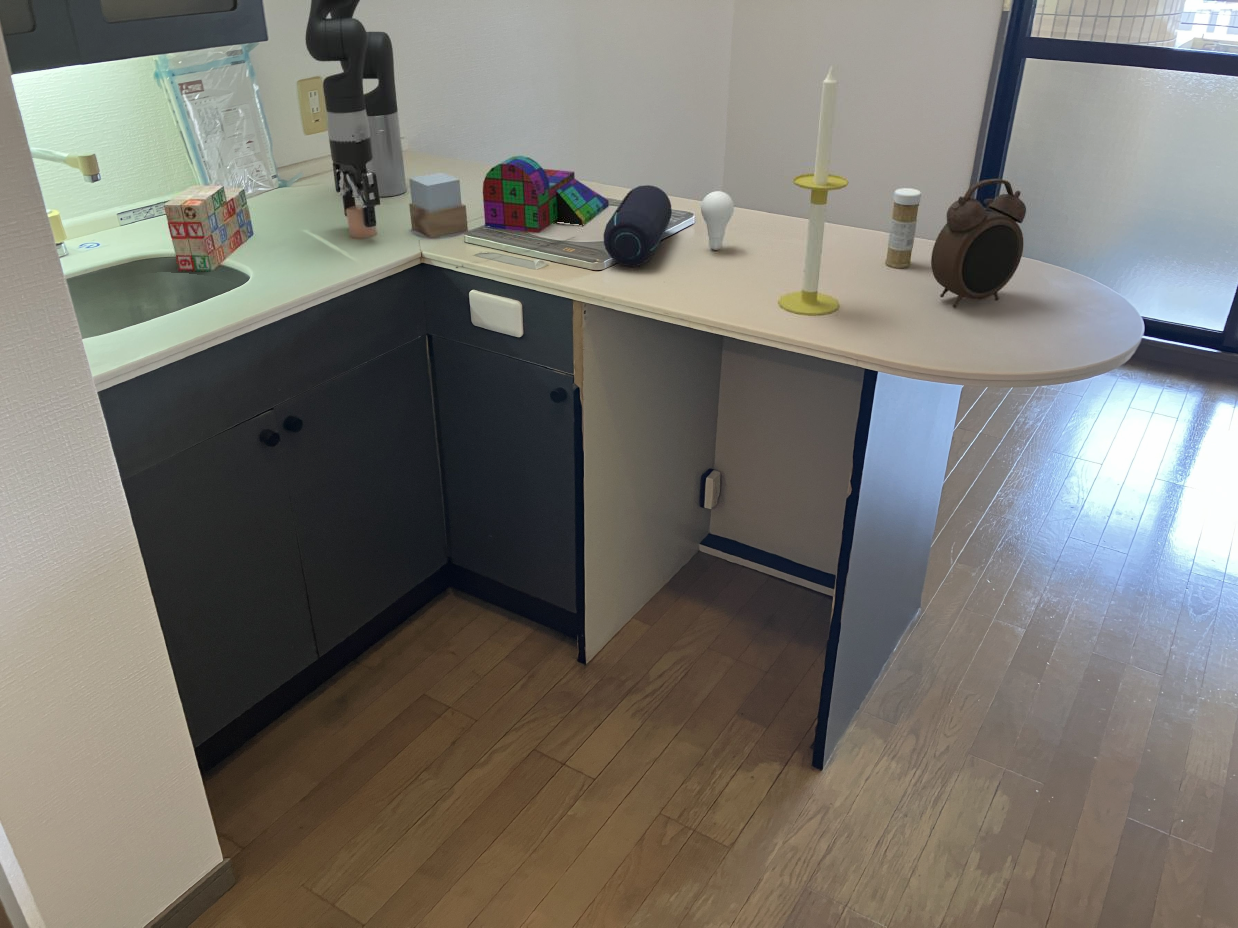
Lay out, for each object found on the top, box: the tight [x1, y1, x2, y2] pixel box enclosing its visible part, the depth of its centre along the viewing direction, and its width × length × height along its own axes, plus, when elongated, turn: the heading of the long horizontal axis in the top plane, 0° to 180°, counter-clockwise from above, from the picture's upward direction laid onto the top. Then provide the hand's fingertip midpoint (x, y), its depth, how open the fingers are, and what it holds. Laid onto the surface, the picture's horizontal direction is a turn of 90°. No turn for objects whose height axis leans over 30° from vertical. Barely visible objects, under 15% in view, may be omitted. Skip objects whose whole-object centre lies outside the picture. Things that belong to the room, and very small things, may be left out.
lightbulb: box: [700, 190, 735, 251], centre depth 188 cm, size 6×6×11 cm
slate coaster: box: [411, 228, 467, 240], centre depth 199 cm, size 11×11×1 cm
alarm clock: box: [930, 178, 1027, 309], centre depth 162 cm, size 15×7×20 cm, turn 114°
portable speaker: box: [603, 184, 672, 267], centre depth 189 cm, size 25×10×10 cm, turn 169°
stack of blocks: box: [163, 185, 254, 272], centre depth 188 cm, size 21×6×12 cm, turn 178°
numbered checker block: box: [482, 155, 610, 234], centre depth 205 cm, size 25×17×14 cm
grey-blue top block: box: [408, 171, 463, 212], centre depth 195 cm, size 7×7×5 cm
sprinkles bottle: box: [885, 187, 922, 269], centre depth 180 cm, size 5×5×13 cm
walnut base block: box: [408, 202, 469, 240], centre depth 197 cm, size 8×8×5 cm
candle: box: [777, 65, 849, 316], centre depth 157 cm, size 10×10×38 cm
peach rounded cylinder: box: [346, 204, 378, 239], centre depth 195 cm, size 5×5×6 cm
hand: (360, 221), depth 195 cm, fingers open, 8 cm apart
